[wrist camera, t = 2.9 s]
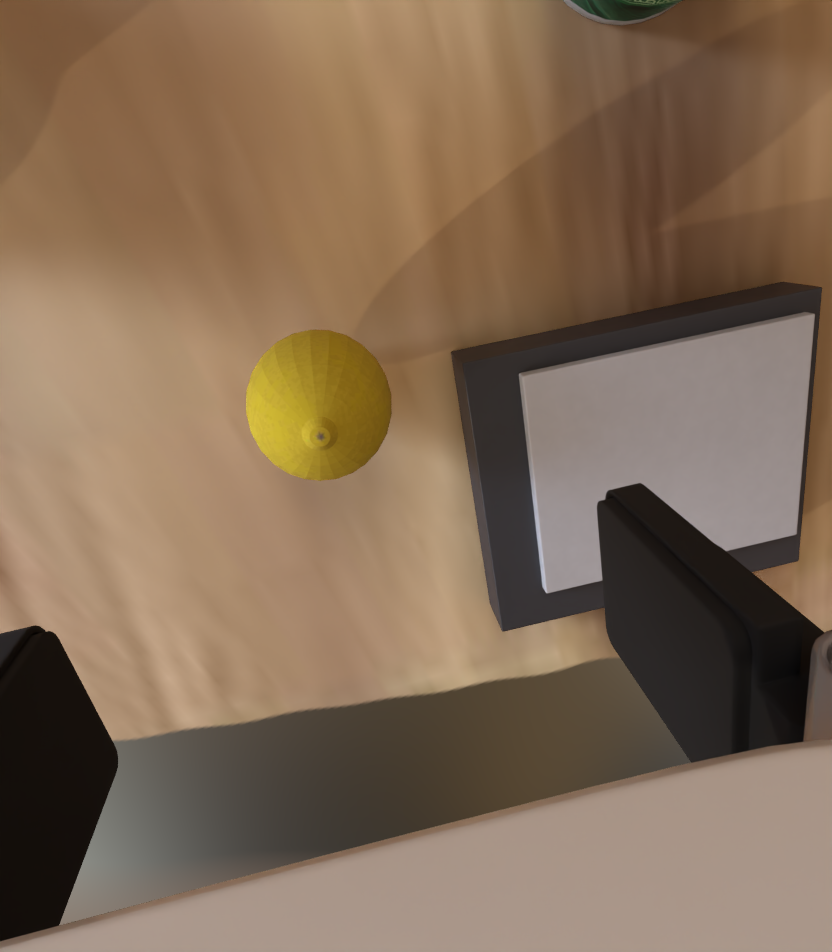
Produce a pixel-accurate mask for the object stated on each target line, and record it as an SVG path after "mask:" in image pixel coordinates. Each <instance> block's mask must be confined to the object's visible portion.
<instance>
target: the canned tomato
mask: <svg viewBox="0 0 832 952" xmlns="http://www.w3.org/2000/svg"><path fill="white" fill-rule="evenodd" d="M563 1H564V2H565V3H566V4H567V5H568V6H569V7H571V8H572V9H574V10H575V11H577V12H578V13H580V14H581V15H583V16H584V17H586V18H589V19H592V20H594V21H597V22H600V23H603V24H612V25H628V24H635V23H641V22H644V21H646V20H649V19H651V18H654V17H657V16H659V15H661V14H663V13H664V12H666V11H667V10H669V9H670V8H672V7H673V6H675V5H676V4H678V3H679V2H680V1H683V0H563Z"/></svg>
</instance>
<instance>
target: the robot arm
mask: <svg viewBox="0 0 832 952" xmlns="http://www.w3.org/2000/svg"><path fill="white" fill-rule="evenodd" d="M597 518H598V531H599V543H600V556H601V568H602V581H603V594H604V606H605V619H606V628H607V633H608V636H609V639H610V641H611V644H612V645H613V647H614V649H615V650H616V652H617V653H618V655H619V656H620V658H621V659H622V661H623V662H624V663H625V665H626V666H627V668H628V669H629V671H630V673H631V674H632V675H633V677H634V678H635V680H636V681H637V683H638V684H639V686H640V687H641V689H642V690H643V692H644V693H645V695H646V696H647V698H648V699H649V700H650V702H651V704H652V705H653V706H654V708H655V709H656V711H657V712H658V714H659V715H660V717H661V718H662V720H663V721H664V723H665V724H666V726H667V727H668V729H669V730H670V732H671V733H672V735H673V736H674V738H675V739H676V741H677V742H678V744H679V745H680V746H681V748H682V749H683V751H684V752H685V754H686V755H687V757H688V758H689V760H690V761H691V763H688V764H684V765H679V766H675V767H671V768H667V769H663V770H659V771H655V772H651V773H647V774H643V775H639V776H635V777H631V778H627V779H623V780H618V781H614V782H610V783H606V784H602V785H597V786H593V787H589V788H585V789H581V790H578V791H574V792H570V793H566V794H562V795H558V796H554V797H550V798H547V799H542V800H538V801H534V802H530V803H526V804H523V805H519V806H515V807H511V808H507V809H503V810H500V811H495V812H491V813H487V814H483V815H480V816H476V817H472V818H468V819H464V820H460V821H456V822H452V823H448V824H444V825H440V826H436V827H432V828H428V829H425V830H421V831H417V832H413V833H409V834H405V835H401V836H397V837H394V838H390V839H386V840H382V841H378V842H374V843H370V844H367V845H363V846H359V847H355V848H351V849H347V850H344V851H340V852H336V853H332V854H328V855H324V856H320V857H317V858H313V859H309V860H305V861H301V862H298V863H294V864H290V865H286V866H282V867H278V868H275V869H271V870H267V871H264V872H259V873H256V874H252V875H248V876H244V877H240V878H236V879H233V880H229V881H225V882H222V883H217V884H214V885H210V886H206V887H203V888H198V889H194V890H191V891H187V892H183V893H179V894H176V895H172V896H168V897H165V898H161V899H157V900H153V901H149V902H146V903H142V904H138V905H135V906H131V907H127V908H123V909H120V910H116V911H112V912H108V913H105V914H101V915H97V916H93V917H90V918H86V919H82V920H79V921H75V922H71V923H68V924H63V925H60V926H59V924H60V921H61V918H62V916H63V913H64V910H65V908H66V905H67V902H68V899H69V897H70V895H71V892H72V889H73V886H74V884H75V881H76V879H77V876H78V873H79V870H80V868H81V865H82V862H83V860H84V857H85V854H86V852H87V849H88V846H89V844H90V841H91V838H92V836H93V833H94V830H95V828H96V825H97V822H98V819H99V817H100V814H101V812H102V809H103V806H104V804H105V801H106V798H107V795H108V793H109V790H110V788H111V785H112V782H113V780H114V777H115V774H116V771H117V768H118V755H117V750H116V748H115V746H114V743H113V741H112V740H111V738H110V736H109V734H108V732H107V730H106V728H105V726H104V724H103V722H102V720H101V719H100V717H99V715H98V713H97V711H96V709H95V707H94V705H93V703H92V701H91V700H90V698H89V696H88V694H87V692H86V690H85V688H84V686H83V684H82V682H81V680H80V679H79V677H78V675H77V673H76V671H75V669H74V667H73V665H72V663H71V661H70V659H69V658H68V656H67V654H66V652H65V650H64V648H63V646H62V644H61V642H60V640H59V639H58V637H57V636H56V634H54V633H53V632H50V631H48V632H46V631H45V630H44V629H43V628H41V627H40V626H31V627H27V628H23V629H18V630H14V631H10V632H6V633H2V634H0V952H832V630H830V631H827V632H825V633H824V632H823V631H822V630H821V629H819V628H818V627H817V626H816V625H815V624H813V623H812V622H811V621H810V620H808V619H807V618H806V617H805V616H804V615H802V614H801V613H800V612H799V611H798V610H796V609H795V608H794V607H793V606H792V605H790V604H789V603H788V602H787V601H786V600H784V599H783V598H782V597H781V596H779V595H778V594H777V593H776V592H775V591H773V590H772V589H771V588H770V587H769V586H767V585H766V584H765V583H764V582H763V581H761V580H760V579H759V578H758V577H756V576H755V575H754V574H753V573H752V572H750V571H749V570H748V569H747V568H746V567H744V566H743V565H742V564H741V563H740V562H738V561H737V560H736V559H735V558H733V557H732V556H731V555H730V554H729V553H727V552H726V551H725V550H724V549H723V548H721V547H720V546H718V545H716V544H715V543H713V542H712V541H711V540H710V539H709V538H707V537H706V536H705V535H704V534H703V533H701V532H700V531H699V530H698V529H697V528H695V527H694V526H693V525H692V524H690V523H689V522H688V521H687V520H686V519H684V518H683V517H682V516H681V515H680V514H678V513H677V512H676V511H675V510H674V509H672V508H671V507H670V506H669V505H668V504H666V503H665V502H664V501H663V500H662V499H660V498H659V497H658V496H657V495H656V494H654V493H653V492H652V491H651V490H650V489H648V488H647V487H646V486H645V485H643V484H641V483H637V484H633V485H629V486H625V487H620V488H616V489H612V490H608V491H607V493H606V496H605V500H601V501H599V502H598V503H597Z"/></svg>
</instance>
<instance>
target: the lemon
mask: <svg viewBox="0 0 832 952" xmlns="http://www.w3.org/2000/svg"><path fill="white" fill-rule="evenodd" d="M246 414H247V418H248V422H249V426H250V430H251V433H252V435H253V437H254V439H255V440H256V442H257V444H258V446H259V448H260V449H261V451H262V452H263V453H264V454H265V455H266V456H267V457H268V458H269V459H270V460H271V461H272V462H273V463H274V464H275V465H276V466H278V467H279V468H281V469H282V470H284V471H285V472H287V473H289V474H292V475H294V476H297V477H300V478H303V479H310V480H319V481H321V480H330V479H337V478H340V477H343V476H345V475H348V474H351V473H353V472H354V471H356V470H357V469H359V468H360V467H362V466H363V465H365V464H366V463H367V462H368V461H369V460H370V459H371V457H372V456H373V455H374V454H375V453H376V452H377V451H378V449H379V447H380V446H381V444H382V442H383V440H384V438H385V436H386V434H387V431H388V427H389V423H390V418H391V392H390V388H389V385H388V381H387V378H386V375H385V373H384V371H383V370H382V368H381V366H380V365H379V363H378V361H377V360H376V358H375V357H374V356H373V355H372V354H371V353H370V352H369V351H368V350H367V349H366V348H365V347H364V346H363V345H362V344H360V343H358V342H357V341H355V340H353V339H352V338H350V337H348V336H347V335H343V334H340V333H336V332H333V331H329V330H308V331H303V332H299V333H294V334H292V335H290V336H288V337H286V338H284V339H282V340H280V341H278V342H277V343H276V344H274V345H273V346H272V347H271V348H270V349H269V350H268V351H267V352H266V353H265V354H264V355H263V356H262V357H261V359H260V360H259V362H258V364H257V365H256V367H255V368H254V370H253V372H252V374H251V378H250V381H249V385H248V388H247V392H246Z"/></svg>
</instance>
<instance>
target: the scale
mask: <svg viewBox="0 0 832 952" xmlns="http://www.w3.org/2000/svg"><path fill="white" fill-rule="evenodd" d="M821 293H822V288H821V287H816V286H809V285H801V284H794V283H787V282H780V283H775V284H770V285H766V286H761V287H756V288H751V289H747V290H742V291H737V292H732V293H728V294H723V295H718V296H713V297H709V298H704V299H699V300H694V301H690V302H685V303H680V304H675V305H671V306H666V307H661V308H656V309H652V310H647V311H642V312H637V313H633V314H628V315H623V316H618V317H614V318H609V319H604V320H599V321H595V322H590V323H585V324H580V325H575V326H571V327H566V328H561V329H556V330H552V331H547V332H542V333H537V334H533V335H528V336H523V337H518V338H514V339H509V340H504V341H499V342H495V343H490V344H485V345H480V346H476V347H471V348H466V349H461V350H457V351H452V352H451V355H452V362H453V368H454V375H455V381H456V387H457V394H458V400H459V407H460V413H461V420H462V426H463V433H464V439H465V445H466V452H467V458H468V465H469V471H470V478H471V484H472V490H473V497H474V503H475V510H476V516H477V523H478V529H479V535H480V542H481V548H482V555H483V561H484V568H485V574H486V580H487V587H488V593H489V600H490V605H491V607H492V609H493V612H494V614H495V616H496V618H497V621H498V623H499V625H500V628H501V630H502V631H508V630H512V629H516V628H520V627H524V626H529V625H533V624H537V623H541V622H545V621H549V620H554V619H558V618H562V617H566V616H570V615H575V614H579V613H583V612H587V611H591V610H595V609H600V608H604V607H605V606H604V594H603V581H602V568H601V556H600V543H599V531H598V518H597V503H598V502H599V501H601V500H605V496H606V493H607V491H608V490H612V489H616V488H620V487H625V486H629V485H633V484H637V483H641V484H643V485H645V486H646V487H647V488H648V489H650V490H651V491H652V492H653V493H654V494H656V495H657V496H658V497H659V498H660V499H662V500H663V501H664V502H665V503H666V504H668V505H669V506H670V507H671V508H672V509H674V510H675V511H676V512H677V513H678V514H680V515H681V516H682V517H683V518H684V519H686V520H687V521H688V522H689V523H690V524H692V525H693V526H694V527H695V528H697V529H698V530H699V531H700V532H701V533H703V534H704V535H705V536H706V537H707V538H709V539H710V540H711V541H712V542H713V543H715V544H716V545H718V546H720V547H721V548H723V549H724V550H725V551H726V552H727V553H729V554H730V555H731V556H732V557H733V558H735V559H736V560H737V561H738V562H740V563H741V564H742V565H743V566H744V567H746V568H747V569H748V570H749V571H750V572H754V571H758V570H763V569H767V568H771V567H775V566H779V565H783V564H788V563H792V562H796V561H798V560H799V548H800V537H801V525H802V513H803V502H804V490H805V479H806V467H807V455H808V444H809V432H810V421H811V409H812V397H813V386H814V374H815V363H816V351H817V339H818V328H819V316H820V305H821Z"/></svg>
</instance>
